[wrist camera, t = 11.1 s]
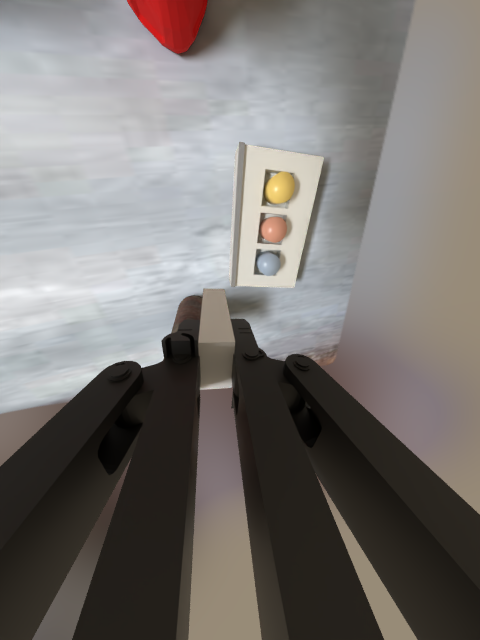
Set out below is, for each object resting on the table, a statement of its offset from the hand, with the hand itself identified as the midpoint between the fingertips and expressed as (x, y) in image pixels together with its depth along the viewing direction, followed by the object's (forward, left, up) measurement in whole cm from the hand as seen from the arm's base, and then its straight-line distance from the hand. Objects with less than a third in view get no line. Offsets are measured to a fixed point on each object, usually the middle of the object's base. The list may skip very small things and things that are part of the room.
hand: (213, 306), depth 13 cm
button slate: (+1, +11, -25) cm, 27 cm away
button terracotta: (-5, +11, -25) cm, 28 cm away
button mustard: (-11, +11, -25) cm, 29 cm away
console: (-5, +11, -28) cm, 31 cm away
